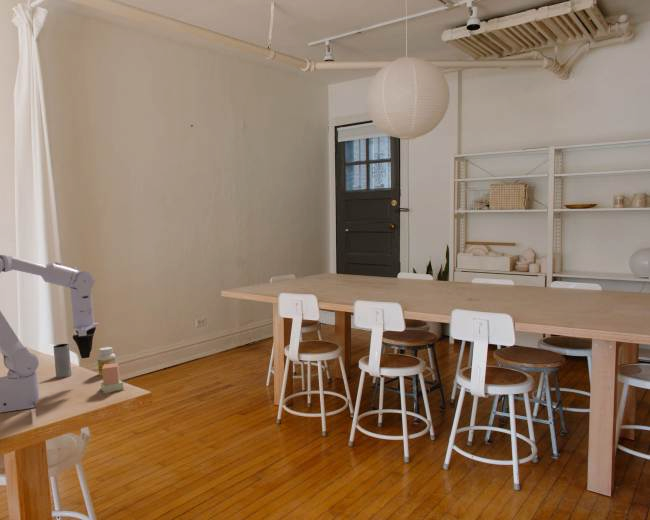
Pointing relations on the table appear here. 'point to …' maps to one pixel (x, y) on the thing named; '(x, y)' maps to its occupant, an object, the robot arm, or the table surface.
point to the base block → (110, 392)
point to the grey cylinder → (62, 360)
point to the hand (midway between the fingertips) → (86, 354)
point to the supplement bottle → (105, 358)
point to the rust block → (111, 373)
